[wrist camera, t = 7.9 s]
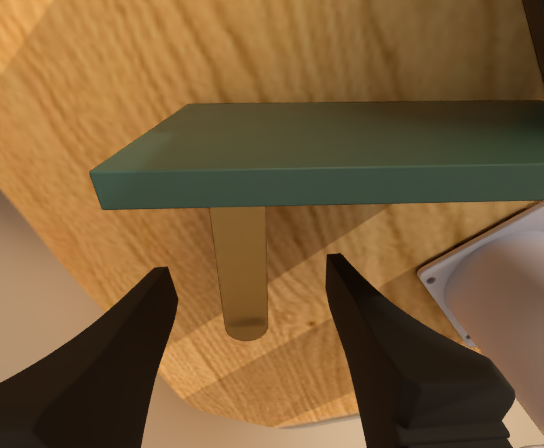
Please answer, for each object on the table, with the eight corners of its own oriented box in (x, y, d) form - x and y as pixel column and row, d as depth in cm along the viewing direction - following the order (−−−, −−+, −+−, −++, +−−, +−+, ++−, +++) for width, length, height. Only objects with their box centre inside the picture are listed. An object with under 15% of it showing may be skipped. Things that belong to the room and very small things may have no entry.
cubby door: (484, 224, 16) (665, 360, 9) (206, 231, 16) (161, 381, 8) (539, 100, 13) (899, 157, 6) (187, 103, 12) (87, 171, 5)
